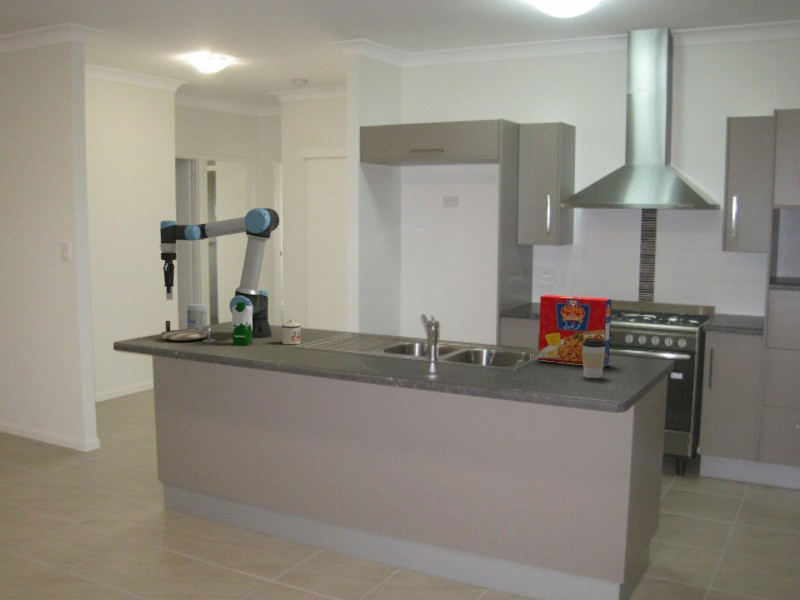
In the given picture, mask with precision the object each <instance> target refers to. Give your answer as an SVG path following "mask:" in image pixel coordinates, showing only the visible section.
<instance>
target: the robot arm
mask: <svg viewBox="0 0 800 600" xmlns="http://www.w3.org/2000/svg"><path fill="white" fill-rule="evenodd" d="M279 225H280V216H279V214H278V212H277V211H276V210H275V209H272V208H268V207H255V208H253V209H251V210H249V211H248V212H247V213H246V214H245V216H240V217H235V218H230V219H223V220H218V221H214V222H213V221H212V222H204V223H200V224H177V222H176V221H175V220H161V222H160V225H159V226H160V229H159V232H160V233H159V234H160V245H159V248H160V252H161V253H160V260H161V261H164V264H163V267H162V269H163V277H164V288H165V290H166V291H165V292H166V293H165V296H166V298H165V299H166V301H171V300H173V299H174V296H173V292H174V291H173V287H174V286H175V283H174V281H175V264H174V261H177V258H178V257H177V256H178V255H177V250H178V249H177V246H178V245H177V241H190V242H193V241H198V240H199V241H201V240H205V239H211V238H217V237H224V236H230V235H236V234H241V233H245V235H246V237H247V244H246V248H245V254H244V260H243V266H242V272H241V276H240V283H239V286H237V288H235V292H234V297H232V298H231V300H230V301H229V305H228V306H229V311H230V313H231V314H232V307H234V306H237V302H245V306H252V339H253V338H254V339H257V338H260V339H261V338H269V337H272V336H273V333H272V332H273V331H272V328H271V326H270V322H269V293H268V291H266V290H258V288H259V287H258V286H259V281H260V277H261V271H262V265H263V260H264V255H265V254H264V253H265V248H266V245H267V244H266V243H267V241H268V240H270V239H271V233H272V232H273V231H275V230H276V229H277V228H278V227H279Z"/></svg>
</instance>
